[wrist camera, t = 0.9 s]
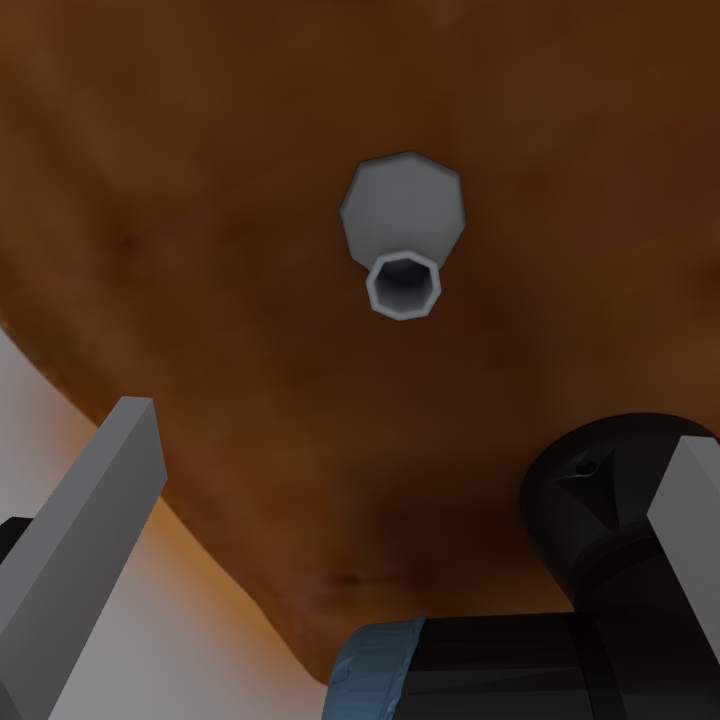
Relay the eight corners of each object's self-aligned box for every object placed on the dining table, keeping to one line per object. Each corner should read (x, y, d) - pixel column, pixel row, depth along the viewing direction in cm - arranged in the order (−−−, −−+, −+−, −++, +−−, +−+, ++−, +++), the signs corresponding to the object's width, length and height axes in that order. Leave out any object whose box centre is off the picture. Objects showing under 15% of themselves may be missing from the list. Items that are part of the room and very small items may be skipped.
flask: (335, 267, 34) (313, 351, 25) (344, 142, 30) (323, 191, 22) (454, 281, 34) (472, 369, 25) (478, 157, 30) (509, 212, 22)
